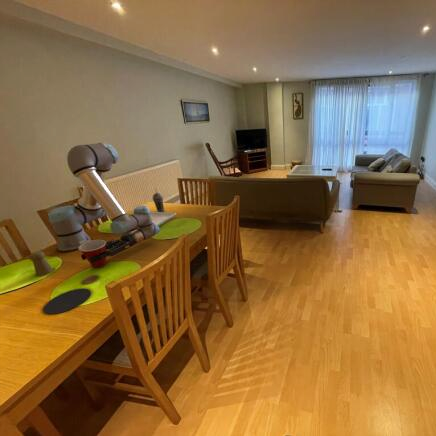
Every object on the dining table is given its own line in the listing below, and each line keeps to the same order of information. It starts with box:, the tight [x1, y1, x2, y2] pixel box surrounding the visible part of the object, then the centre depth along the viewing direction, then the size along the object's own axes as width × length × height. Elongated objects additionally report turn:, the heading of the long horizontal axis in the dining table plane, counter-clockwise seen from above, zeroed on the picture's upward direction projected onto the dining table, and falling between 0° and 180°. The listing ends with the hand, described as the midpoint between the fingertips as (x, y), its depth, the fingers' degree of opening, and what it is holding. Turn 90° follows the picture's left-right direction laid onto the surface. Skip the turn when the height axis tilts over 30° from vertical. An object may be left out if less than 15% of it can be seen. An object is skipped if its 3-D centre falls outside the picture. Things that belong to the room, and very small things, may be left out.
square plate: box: [133, 211, 177, 230], centre depth 172 cm, size 27×27×4 cm
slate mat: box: [42, 288, 92, 315], centre depth 99 cm, size 15×15×1 cm
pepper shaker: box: [28, 251, 54, 277], centre depth 116 cm, size 6×6×11 cm
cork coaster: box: [81, 275, 99, 285], centre depth 112 cm, size 6×6×1 cm
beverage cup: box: [152, 187, 165, 212], centre depth 190 cm, size 7×7×20 cm
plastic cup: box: [78, 239, 108, 269], centre depth 120 cm, size 11×11×12 cm
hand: (86, 259), depth 116 cm, fingers closed on plastic cup, 6 cm apart
